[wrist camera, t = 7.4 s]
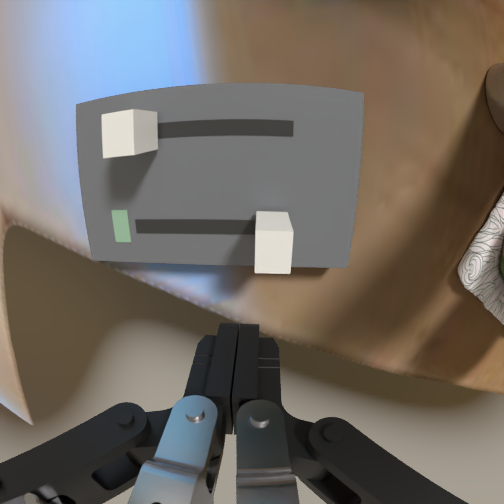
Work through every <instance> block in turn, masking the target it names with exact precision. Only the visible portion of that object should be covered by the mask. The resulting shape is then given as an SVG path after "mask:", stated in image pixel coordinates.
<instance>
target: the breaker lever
mask: <svg viewBox="0 0 504 504" xmlns="http://www.w3.org/2000/svg"><path fill="white" fill-rule="evenodd" d="M102 147H103V158H110V157H119V156H129V155H136V154H140V153H144V152H149V151H153V150H157V149H158V130H157V112H154V111H146V110H137V109H131V110H124V111H118V112H113V113H107V114H102Z"/></svg>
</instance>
